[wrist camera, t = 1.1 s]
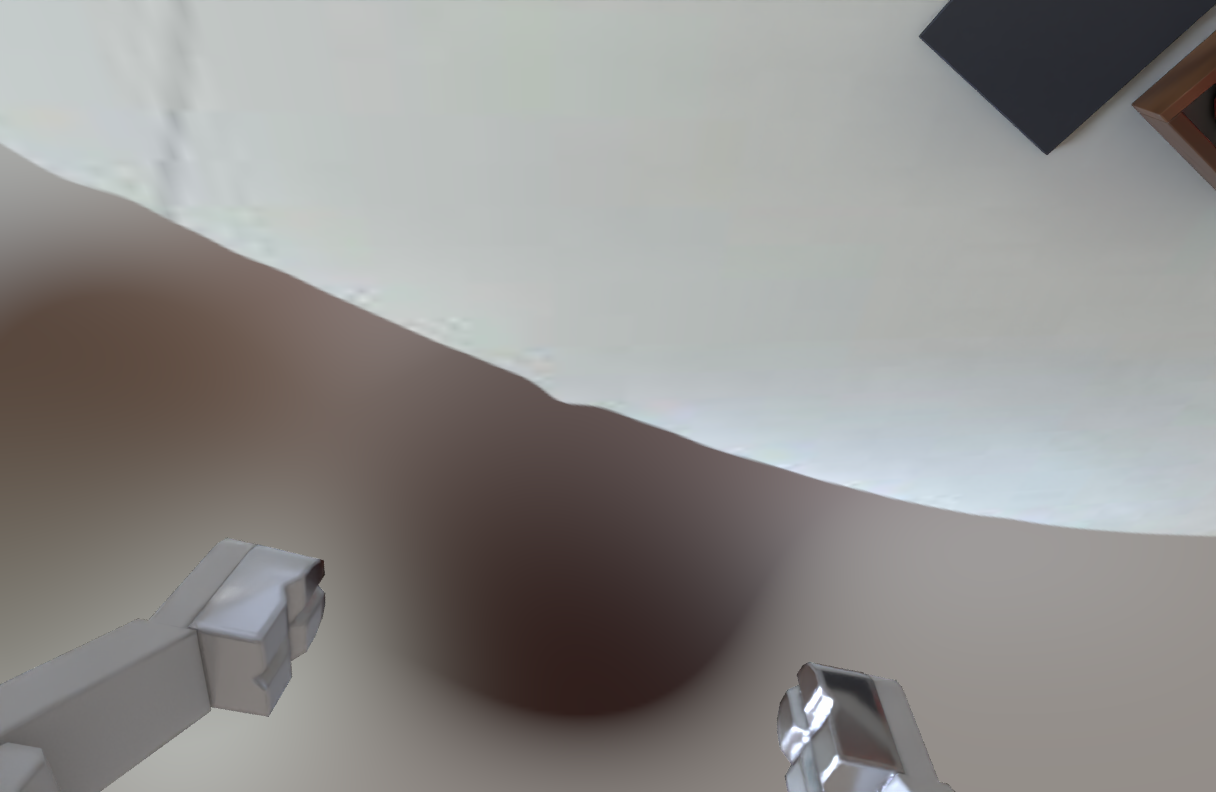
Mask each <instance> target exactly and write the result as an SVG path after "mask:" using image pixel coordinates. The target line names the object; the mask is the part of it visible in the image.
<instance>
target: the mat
mask: <svg viewBox="0 0 1216 792" xmlns="http://www.w3.org/2000/svg"><path fill="white" fill-rule="evenodd" d="M1215 4H1216V0H950V1H949V2H948V3H947V4H946V6H945V7H944V8H943V9H942V10H941V11H940V13H939V14H938V15H937V16H936V17H935V18H934V19H933V21H932V22H931V23H930V24H929V25H928V26H927V28H926V29H925V30H924V31H923V32H922V33H921V34H920V36H919V37H920V38H921V39H922V40H923V41H924V42H925V43H926V44H927V45H928V46H929V47H930V48H931V49H932V50H934V51H935V52H936V53H937V54H938V55H939V56H940V57H941V58H942V59H943V60H944V61H945V62H946V63H948V64H949V65H950V66H951V67H952V68H953V69H954V70H955V71H956V72H957V73H958V74H959V75H960V76H962V77H963V78H964V79H965V80H966V81H967V82H968V83H969V84H970V85H971V86H972V87H973V88H974V89H976V90H977V91H978V92H979V93H980V94H981V95H982V96H983V97H984V98H985V99H986V100H987V101H988V102H990V103H991V104H992V105H993V106H994V107H995V108H996V109H997V110H998V111H999V112H1000V113H1001V114H1002V115H1004V116H1005V117H1006V118H1007V119H1008V120H1009V121H1010V122H1011V123H1012V124H1013V125H1014V126H1015V127H1016V128H1018V129H1019V130H1020V131H1021V132H1022V133H1023V134H1024V135H1025V136H1026V137H1027V138H1028V139H1029V140H1030V141H1032V142H1033V143H1034V144H1035V145H1036V146H1037V147H1038V148H1039V149H1040V150H1041V151H1042V152H1043V153H1045V154H1046V155H1048V154H1049V153H1050V152H1051V151H1052V150H1053V149H1054V148H1056V147H1057V146H1058V145H1059V144H1060V143H1061V142H1062V141H1063V140H1064V139H1066V138H1067V137H1068V136H1069V135H1070V134H1071V133H1072V132H1073V131H1074V130H1076V129H1077V128H1078V127H1079V126H1080V125H1081V124H1082V123H1083V122H1085V121H1086V120H1087V119H1088V118H1089V117H1090V116H1091V115H1092V114H1093V113H1095V112H1096V111H1097V110H1098V109H1099V108H1100V107H1101V106H1102V105H1103V104H1105V103H1106V102H1107V101H1108V100H1109V99H1110V98H1111V97H1112V96H1113V95H1115V94H1116V93H1117V92H1118V91H1119V90H1120V89H1121V88H1122V87H1124V86H1125V85H1126V84H1127V83H1128V82H1129V81H1130V80H1131V79H1132V78H1134V77H1135V76H1136V75H1137V74H1138V73H1139V72H1140V71H1141V70H1142V69H1144V68H1145V67H1146V66H1147V65H1148V64H1149V63H1150V62H1151V61H1152V60H1154V59H1155V58H1156V57H1157V56H1158V55H1159V54H1160V53H1161V52H1162V51H1164V50H1165V49H1166V48H1167V47H1168V46H1169V45H1170V44H1171V43H1173V42H1174V41H1175V40H1176V39H1177V38H1178V37H1179V36H1180V35H1181V34H1183V33H1184V32H1185V31H1186V30H1187V29H1188V28H1189V27H1190V26H1191V25H1193V24H1194V23H1195V22H1196V21H1197V20H1198V19H1199V18H1200V17H1201V16H1203V15H1204V14H1205V13H1206V12H1207V11H1208V10H1209V9H1210V8H1212V7H1213V6H1214V5H1215Z"/></svg>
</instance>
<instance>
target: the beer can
mask: <svg viewBox="0 0 1216 792" xmlns="http://www.w3.org/2000/svg"><path fill="white" fill-rule="evenodd" d="M1214 117H1215V119H1216V97H1215V100H1214Z"/></svg>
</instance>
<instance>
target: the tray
mask: <svg viewBox="0 0 1216 792" xmlns="http://www.w3.org/2000/svg"><path fill="white" fill-rule="evenodd" d="M1215 83H1216V31H1215V32H1214V33H1212V34H1211V35H1210V36H1209V37H1208V38H1207V39H1206V40H1204V41H1203V42H1202V43H1201V44H1200V45H1199V46H1198V47H1196V48H1195V49H1194V50H1193V51H1192V52H1191V53H1190V54H1188V55H1187V56H1186V57H1185V58H1184V59H1183V60H1182V61H1180V62H1179V63H1178V64H1177V65H1176V66H1175V67H1174V68H1172V69H1171V70H1170V71H1169V72H1168V73H1167V74H1166V75H1164V76H1163V77H1162V78H1161V79H1160V80H1159V81H1158V82H1156V83H1155V84H1154V85H1153V86H1152V87H1151V88H1150V89H1148V90H1147V91H1146V92H1145V93H1144V94H1143V95H1142V96H1140V97H1139V98H1138V99H1137V100H1136V101H1135V102H1134V103H1132V106H1133V107H1134V108H1135V109H1136V110H1137V111H1138V112H1140V114H1141V115H1142V116H1143V117H1144V118H1145V119H1146V120H1147V121H1148V122H1149V123H1150V124H1151V125H1152V126H1153V127H1154V128H1155V129H1156V130H1157V131H1158V132H1159V133H1160V134H1161V135H1162V136H1163V138H1164V139H1165V140H1166V141H1167V142H1168V143H1169V144H1170V145H1171V146H1172V147H1173V148H1174V149H1175V150H1176V151H1177V152H1178V153H1179V154H1180V155H1181V156H1182V157H1183V158H1184V159H1185V160H1186V161H1187V162H1188V163H1189V164H1190V165H1191V166H1192V167H1193V168H1194V169H1195V170H1196V171H1197V172H1198V173H1199V174H1200V175H1201V176H1202V177H1203V178H1204V179H1205V180H1206V181H1207V182H1208V183H1209V184H1210V185H1211V186H1212V187H1213V188H1214V189H1215V190H1216V147H1215V146H1214V145H1213V144H1212V143H1211V142H1210V141H1209V140H1208V139H1207V137H1206V136H1205V135H1204V134H1203V133H1202V132H1201V131H1200V130H1199V129H1198V128H1197V127H1196V126H1195V125H1194V124H1193V123H1192V122H1191V121H1190V120H1189V119H1188V118H1187V117H1186V116H1185V115H1184V113H1183V112H1181V111H1182V110H1183V109H1184V108H1186V107H1187V106H1188V105H1189V104H1190V103H1192V102H1193V101H1194V100H1195V99H1196V98H1198V97H1199V96H1200V95H1201V94H1202V93H1204V92H1205V91H1206V90H1207V89H1208V88H1210V87H1211V86H1212V85H1213V84H1215Z"/></svg>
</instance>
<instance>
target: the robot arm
mask: <svg viewBox="0 0 1216 792" xmlns="http://www.w3.org/2000/svg"><path fill="white" fill-rule="evenodd" d="M324 575H325V571H324V561H323V560H321V559H316V558H313V557H309V556H304V555H300V554H296V553H292V552H288V551H284V550H280V549H276V548H271V547H267V546H263V545H259V544H254V543H249V542H245V541H241V540H236V539H232V538H226V539H224V540H222V541H221V542H219V543H217V544H216V545H215V546H214V547H213V548H212V549H211V550H210V551H209V553H208V554H207V555H206V556H205V557H204V558H203V559H202V560H201V561H200V563H199V564H198V565H197V566H196V567H195V568H194V569H193V570H192V572H191V573H190V574H189V575H188V576H187V577H186V578H185V579H184V581H183V582H182V583H181V584H180V585H179V586H178V587H177V588H176V590H175V591H174V592H173V593H172V594H171V595H170V596H169V597H168V598H167V600H166V601H165V602H164V603H163V604H162V605H161V606H160V607H159V609H158V610H157V611H156V612H155V613H154V614H153V615H152V616H151V618H150V619H149V620H145V619H139V618H138V619H136V620H134V621H131V622H130V623H127V624H125V625H123V626H121V627H119V628H117V629H115V630H113V631H110V632H108V633H106V634H104V635H102V636H100V637H98V638H96V639H94V640H92V641H90V642H87V643H86V644H83V645H81V646H79V647H77V648H75V649H73V650H71V651H69V652H66V653H65V654H62V655H60V656H58V657H56V658H54V659H52V660H50V661H48V662H46V663H44V664H41V665H39V666H37V667H35V668H33V669H31V670H29V671H27V672H25V673H22V674H20V675H18V676H16V677H14V678H12V679H10V680H8V681H6V682H4V683H2V684H0V792H100V791H102V790H103V789H104V788H106V787H107V786H109V785H110V784H111V783H113V782H114V781H115V780H117V779H118V778H119V777H121V776H122V775H124V774H125V773H126V772H128V771H129V770H131V769H132V768H133V767H135V766H136V765H137V764H139V763H140V762H141V761H143V760H144V759H146V758H147V757H148V756H150V755H151V754H152V753H154V752H155V751H157V750H158V749H159V748H161V747H162V746H163V745H165V744H166V743H168V742H169V741H170V740H172V739H173V738H174V737H176V736H177V735H179V734H180V733H181V732H183V731H184V730H185V729H187V728H188V727H190V726H191V725H192V724H194V723H195V722H196V721H198V720H199V719H201V718H202V717H203V716H205V715H206V714H207V713H209V712H210V711H211V707H213V708H220V709H225V710H231V711H237V712H243V713H249V714H255V715H261V716H267V717H269V715H270V714H271V712H272V710H273V709H274V707H275V705H276V704H277V702H278V700H279V698H280V697H281V695H282V693H283V692H284V690H285V688H286V686H287V685H288V683H289V681H290V680H291V678H292V667H291V661H292V660H294V659H295V658H297V657H299V656H300V655H302V654H304V653H305V652H307V650H308V648H309V646H310V645H311V643H312V641H313V639H314V638H315V636H316V633H317V631H318V628H319V625H320V623H321V620H322V617H323V613H324V607H325V593H324V591H323V590H322V589H321V588H320V587H319V585H318V584H319V583H320V581H321V580H322V578H323V577H324ZM797 677H798V682H799V685H797V686H795V687H793V688H791V689H789V690H787V691H786V693H785V695H784V696H783V698H782V700H781V702H780V706H779V711H778V717H777V733H778V739H779V745H780V749H781V750H782V752H783V753H784V755H785V756H786V757H787V759H788V760H789V761H790V763H791V766H790V768H789V769H788V771H787V773H786V775H785V780H786V786H787V791H788V792H955V791H954V790H953V789H952V788H951V786H950V785H949V784H947V783H943V782H939V780H938V777H937V775H936V772H935V770H934V767H933V764H932V762H931V759H930V757H929V754H928V752H927V749H926V747H925V744H924V742H923V739H922V736H921V734H920V731H919V729H918V726H917V724H916V721H915V718H914V716H913V713H912V711H911V708H910V706H909V703H908V700H907V698H906V695H905V693H904V690H903V688H902V686H901V685H900V684H899V683H898V682H897V681H896V680H893V679H887V678H883V677H879V676H874V675H869V674H864V673H863V672H857V671H853V670H848V669H843V668H837V667H832V666H827V665H822V664H817V663H812V662H808V663H806V664H804V665H803V666H802V668H801V669H800V670H799V672H798V674H797Z"/></svg>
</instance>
